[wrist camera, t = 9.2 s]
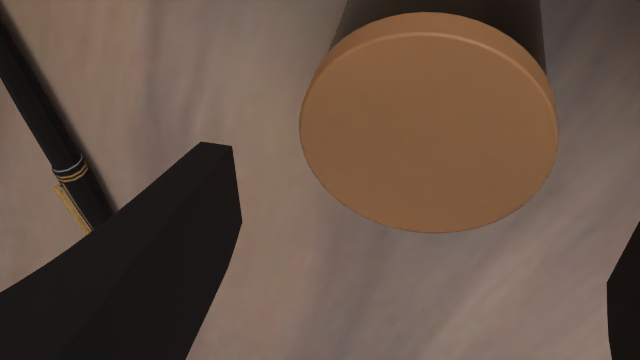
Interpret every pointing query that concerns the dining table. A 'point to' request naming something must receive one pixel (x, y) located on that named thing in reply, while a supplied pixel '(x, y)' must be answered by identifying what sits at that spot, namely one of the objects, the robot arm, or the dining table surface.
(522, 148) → the tea tin
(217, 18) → the dining table surface
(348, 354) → the dining table surface
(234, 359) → the dining table surface
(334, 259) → the dining table surface
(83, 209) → the fountain pen
